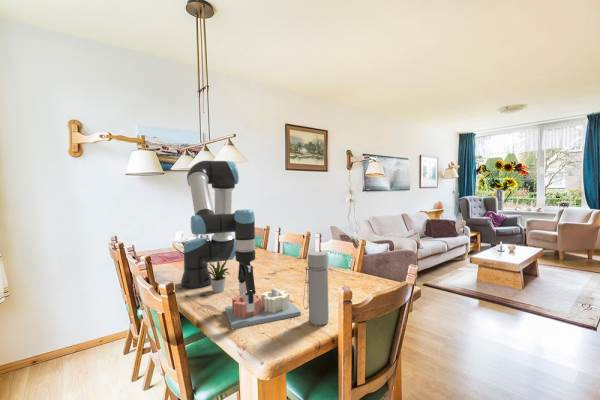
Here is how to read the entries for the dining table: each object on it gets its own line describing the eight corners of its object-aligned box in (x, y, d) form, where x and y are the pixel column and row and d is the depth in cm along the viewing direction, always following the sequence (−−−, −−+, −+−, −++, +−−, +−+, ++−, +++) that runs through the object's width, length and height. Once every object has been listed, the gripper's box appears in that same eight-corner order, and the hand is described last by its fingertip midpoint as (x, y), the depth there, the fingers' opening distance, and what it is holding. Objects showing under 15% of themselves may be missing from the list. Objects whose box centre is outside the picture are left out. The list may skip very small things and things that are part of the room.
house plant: (199, 298, 129) (198, 262, 129) (201, 288, 142) (200, 256, 142) (231, 295, 133) (230, 260, 132) (230, 285, 146) (229, 254, 146)
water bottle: (327, 316, 108) (326, 251, 107) (330, 326, 100) (329, 255, 99) (303, 317, 108) (302, 251, 107) (304, 327, 100) (302, 256, 99)
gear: (256, 304, 117) (256, 292, 117) (262, 314, 107) (262, 301, 107) (231, 309, 113) (231, 296, 113) (235, 319, 104) (235, 305, 103)
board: (225, 310, 115) (224, 289, 115) (285, 300, 125) (285, 280, 125) (232, 328, 100) (231, 304, 99) (300, 315, 110) (300, 293, 109)
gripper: (230, 245, 120) (231, 295, 120) (241, 257, 96) (243, 319, 97) (248, 243, 122) (249, 292, 123) (263, 255, 99) (264, 315, 100)
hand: (246, 304), depth 110 cm, fingers open, 13 cm apart
